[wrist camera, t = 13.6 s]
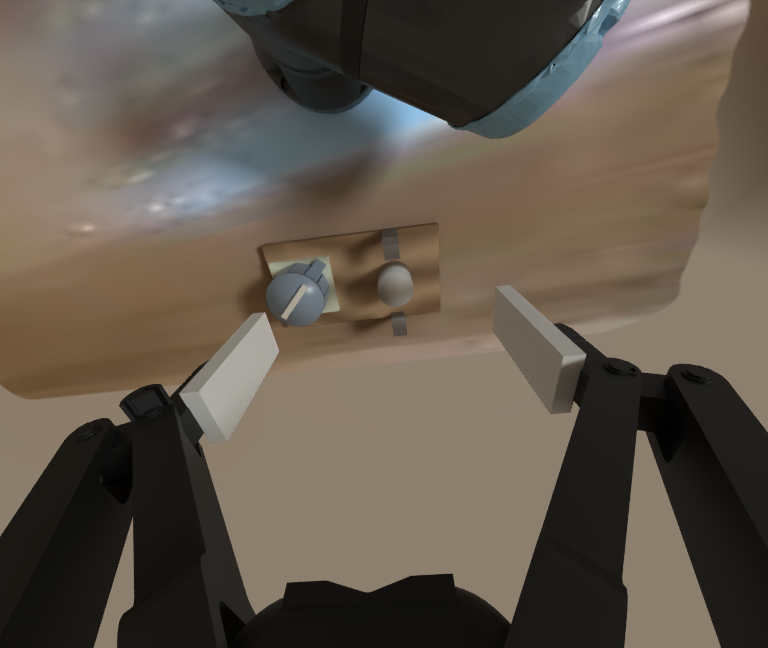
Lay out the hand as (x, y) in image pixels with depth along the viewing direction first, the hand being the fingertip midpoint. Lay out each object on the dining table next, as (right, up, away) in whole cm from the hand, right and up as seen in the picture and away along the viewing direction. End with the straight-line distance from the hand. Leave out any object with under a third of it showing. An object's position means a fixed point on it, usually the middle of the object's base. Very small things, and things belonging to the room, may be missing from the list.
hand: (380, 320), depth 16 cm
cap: (-12, +5, +28) cm, 31 cm away
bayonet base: (-4, +7, +29) cm, 30 cm away
